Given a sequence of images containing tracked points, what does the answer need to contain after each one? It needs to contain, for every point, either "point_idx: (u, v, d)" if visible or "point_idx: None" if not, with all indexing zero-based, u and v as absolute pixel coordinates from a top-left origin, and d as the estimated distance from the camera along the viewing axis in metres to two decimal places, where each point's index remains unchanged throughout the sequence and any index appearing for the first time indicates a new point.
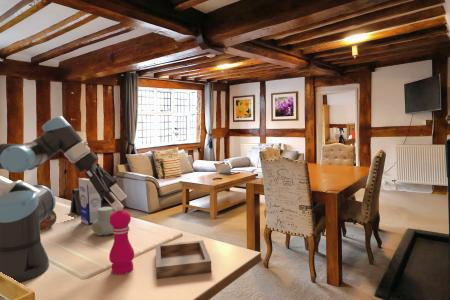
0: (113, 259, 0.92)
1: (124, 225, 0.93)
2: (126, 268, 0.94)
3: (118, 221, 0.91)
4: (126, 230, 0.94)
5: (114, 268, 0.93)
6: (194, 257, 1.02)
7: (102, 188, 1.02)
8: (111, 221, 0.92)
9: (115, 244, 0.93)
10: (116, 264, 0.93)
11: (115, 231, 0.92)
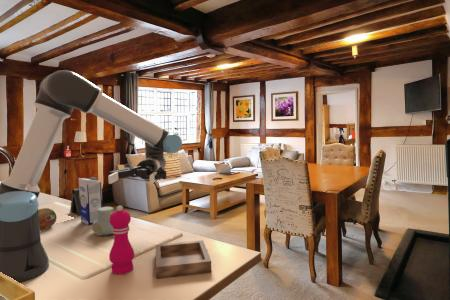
0: (113, 259, 0.92)
1: (124, 225, 0.93)
2: (126, 268, 0.94)
3: (118, 221, 0.91)
4: (126, 230, 0.94)
5: (114, 268, 0.93)
6: (194, 257, 1.02)
7: None
8: (111, 221, 0.92)
9: (115, 244, 0.93)
10: (116, 264, 0.93)
11: (115, 231, 0.92)
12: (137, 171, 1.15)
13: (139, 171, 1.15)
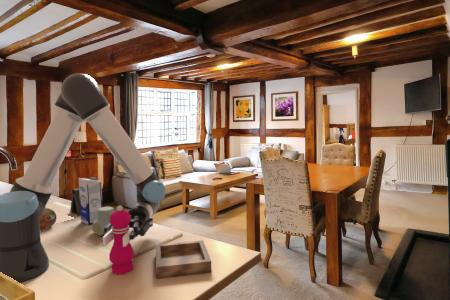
0: (113, 259, 0.92)
1: (124, 225, 0.93)
2: (126, 268, 0.94)
3: (118, 221, 0.91)
4: (126, 230, 0.94)
5: (114, 268, 0.93)
6: (194, 257, 1.02)
7: (145, 232, 0.99)
8: (111, 221, 0.92)
9: (115, 244, 0.93)
10: (116, 264, 0.93)
11: (115, 231, 0.92)
12: None
13: None
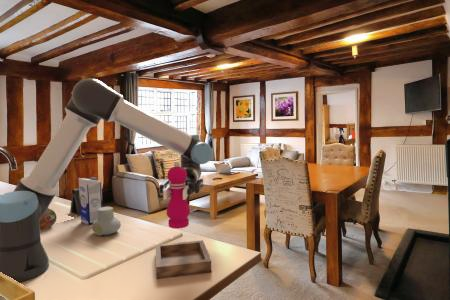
0: (172, 213, 0.95)
1: (182, 180, 0.95)
2: (183, 222, 0.96)
3: (177, 176, 0.94)
4: (183, 185, 0.96)
5: (172, 222, 0.96)
6: (194, 257, 1.02)
7: (199, 189, 1.01)
8: (170, 176, 0.94)
9: (173, 199, 0.96)
10: (174, 218, 0.95)
11: (173, 186, 0.95)
12: None
13: None
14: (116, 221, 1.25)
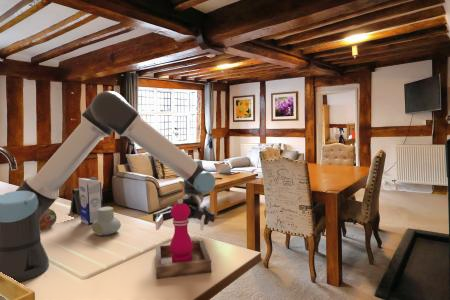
0: (175, 250, 0.96)
1: (185, 217, 0.97)
2: (187, 259, 0.98)
3: (180, 213, 0.95)
4: (186, 222, 0.97)
5: (175, 259, 0.97)
6: (194, 257, 1.02)
7: None
8: (173, 213, 0.96)
9: (176, 236, 0.97)
10: (178, 255, 0.97)
11: (177, 223, 0.96)
12: None
13: None
14: (116, 221, 1.25)
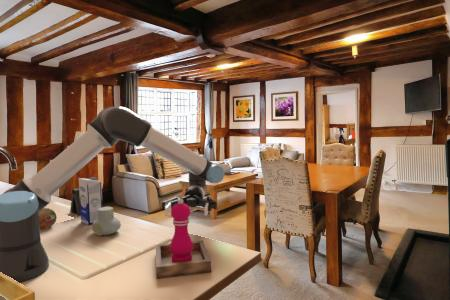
0: (175, 250, 0.96)
1: (185, 217, 0.97)
2: (187, 259, 0.98)
3: (180, 213, 0.95)
4: (187, 222, 0.97)
5: (175, 259, 0.97)
6: (194, 257, 1.02)
7: None
8: (173, 213, 0.96)
9: (176, 236, 0.97)
10: (178, 255, 0.97)
11: (177, 223, 0.96)
12: (187, 200, 1.20)
13: (189, 200, 1.20)
14: (116, 221, 1.25)
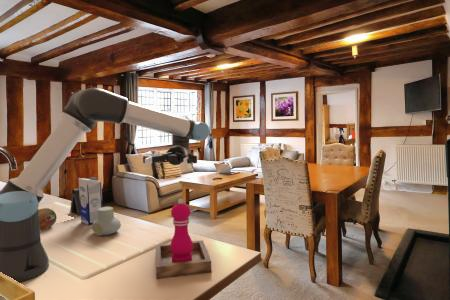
0: (175, 250, 0.96)
1: (185, 217, 0.97)
2: (187, 259, 0.98)
3: (180, 214, 0.95)
4: (187, 222, 0.97)
5: (175, 259, 0.97)
6: (194, 257, 1.02)
7: None
8: (173, 213, 0.96)
9: (176, 236, 0.97)
10: (178, 255, 0.97)
11: (177, 223, 0.96)
12: (168, 156, 1.22)
13: (170, 156, 1.22)
14: (116, 221, 1.25)
